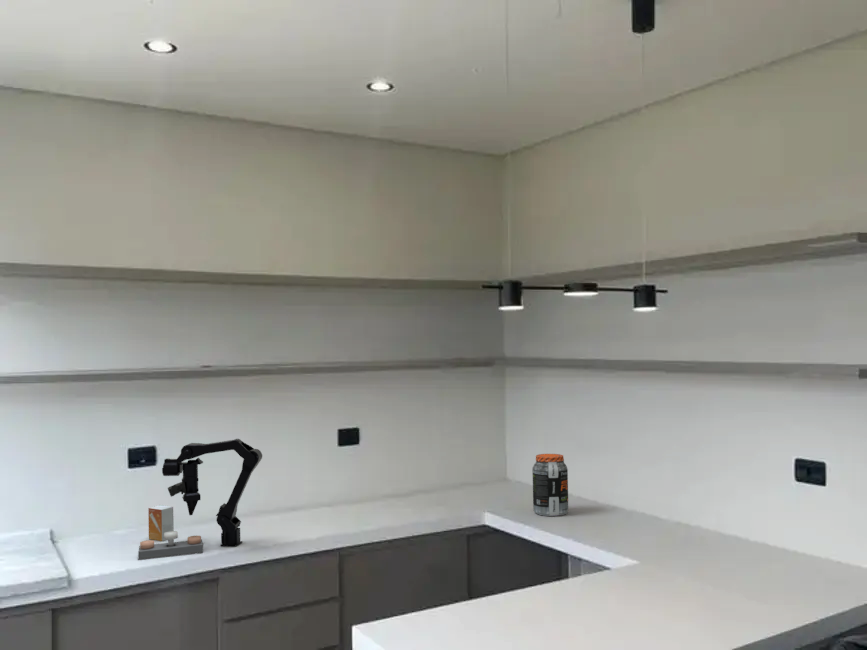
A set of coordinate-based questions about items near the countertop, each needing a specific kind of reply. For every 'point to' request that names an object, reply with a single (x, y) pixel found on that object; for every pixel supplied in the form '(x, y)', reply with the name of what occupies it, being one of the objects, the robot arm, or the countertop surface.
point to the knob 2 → (194, 539)
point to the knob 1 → (147, 544)
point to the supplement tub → (550, 485)
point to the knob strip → (170, 550)
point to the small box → (160, 521)
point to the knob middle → (170, 537)
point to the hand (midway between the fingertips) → (190, 515)
